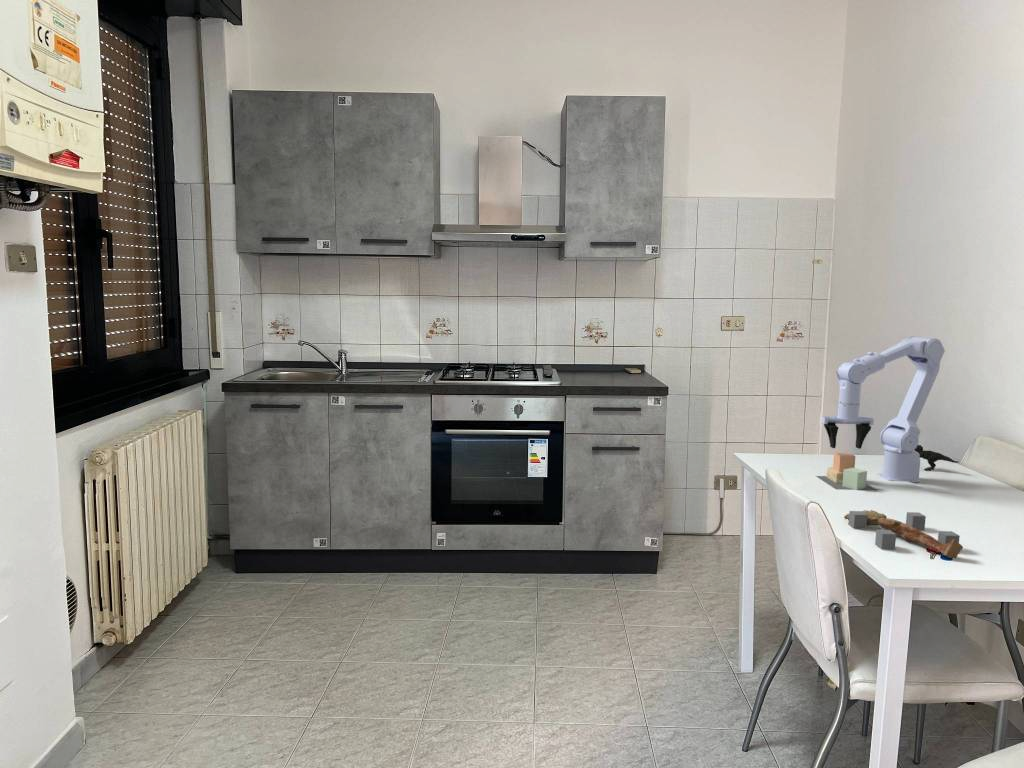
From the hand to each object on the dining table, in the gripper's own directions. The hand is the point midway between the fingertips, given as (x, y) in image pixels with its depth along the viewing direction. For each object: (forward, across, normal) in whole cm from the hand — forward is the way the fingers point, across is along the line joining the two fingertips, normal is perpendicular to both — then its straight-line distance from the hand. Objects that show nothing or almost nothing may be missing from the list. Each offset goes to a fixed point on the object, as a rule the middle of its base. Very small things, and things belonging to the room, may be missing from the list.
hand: (845, 447), depth 221 cm
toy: (+11, -36, -16) cm, 41 cm away
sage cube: (+10, 0, +8) cm, 13 cm away
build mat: (+10, 0, +3) cm, 11 cm away
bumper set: (+10, +8, +50) cm, 52 cm away
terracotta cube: (+7, 0, 0) cm, 7 cm away
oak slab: (+10, 0, 0) cm, 10 cm away
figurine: (+11, +8, +50) cm, 52 cm away
